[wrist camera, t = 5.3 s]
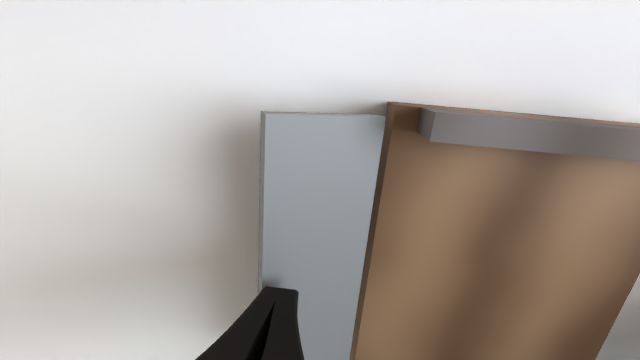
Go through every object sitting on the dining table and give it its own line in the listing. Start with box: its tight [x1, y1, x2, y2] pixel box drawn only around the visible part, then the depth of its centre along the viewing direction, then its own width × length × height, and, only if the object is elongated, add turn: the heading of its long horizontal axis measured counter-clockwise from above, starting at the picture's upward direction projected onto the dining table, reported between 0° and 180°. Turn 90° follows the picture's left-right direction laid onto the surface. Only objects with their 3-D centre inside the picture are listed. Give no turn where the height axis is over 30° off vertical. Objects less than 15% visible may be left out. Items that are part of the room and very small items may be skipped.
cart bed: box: [349, 102, 640, 360], centre depth 14 cm, size 12×16×4 cm
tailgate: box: [258, 111, 386, 360], centre depth 14 cm, size 1×15×5 cm
